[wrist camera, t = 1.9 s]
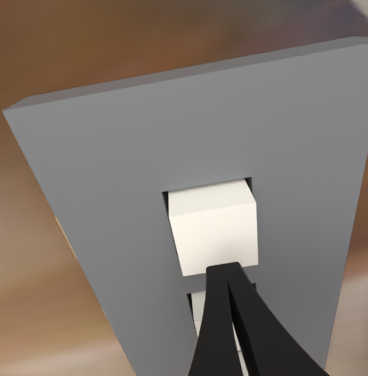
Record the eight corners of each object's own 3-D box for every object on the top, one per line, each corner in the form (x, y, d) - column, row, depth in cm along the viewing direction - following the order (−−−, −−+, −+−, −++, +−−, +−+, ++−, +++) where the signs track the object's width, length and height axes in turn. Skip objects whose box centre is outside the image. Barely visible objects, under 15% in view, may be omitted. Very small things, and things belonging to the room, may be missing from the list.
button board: (353, 36, 13) (390, 39, 11) (308, 367, 29) (319, 395, 27) (21, 97, 14) (-5, 112, 12) (155, 389, 30) (154, 418, 28)
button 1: (242, 176, 15) (256, 202, 13) (246, 233, 17) (258, 264, 15) (168, 188, 15) (168, 217, 13) (181, 243, 17) (183, 276, 15)
